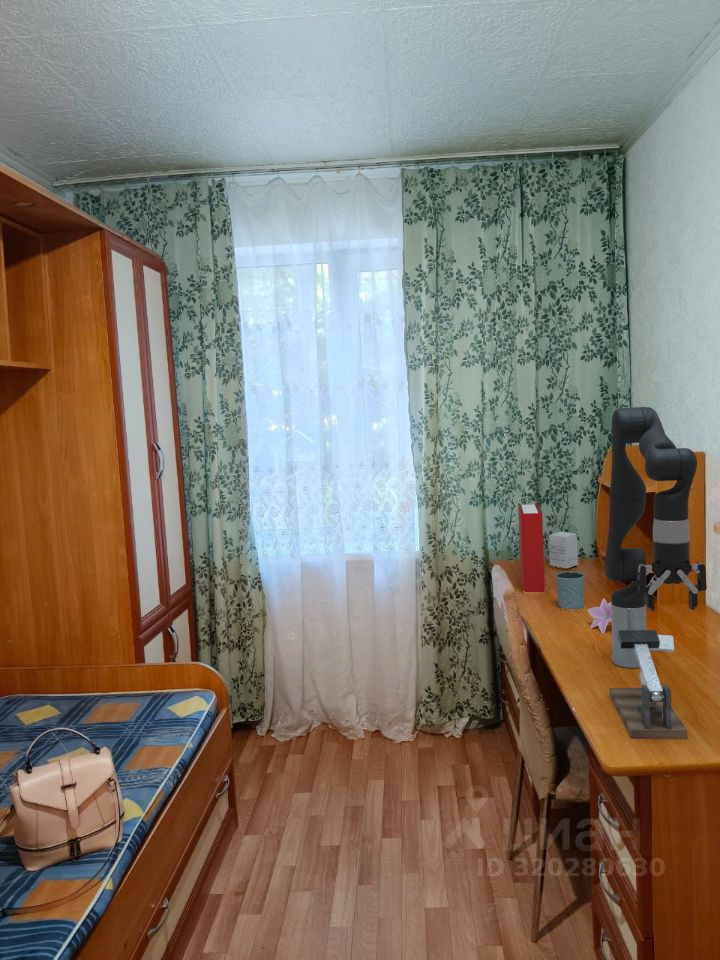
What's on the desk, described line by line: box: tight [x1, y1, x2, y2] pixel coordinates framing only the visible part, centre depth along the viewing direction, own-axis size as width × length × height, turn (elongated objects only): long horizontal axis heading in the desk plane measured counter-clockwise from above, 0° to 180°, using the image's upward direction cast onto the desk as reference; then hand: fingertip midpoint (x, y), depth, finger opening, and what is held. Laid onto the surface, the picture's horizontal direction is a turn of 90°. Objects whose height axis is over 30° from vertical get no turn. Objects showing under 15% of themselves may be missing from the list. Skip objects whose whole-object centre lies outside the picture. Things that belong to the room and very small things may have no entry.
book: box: [517, 502, 546, 592], centre depth 298 cm, size 27×8×32 cm, turn 170°
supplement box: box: [548, 531, 579, 568], centre depth 326 cm, size 9×9×15 cm
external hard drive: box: [649, 634, 675, 653], centre depth 225 cm, size 2×8×12 cm
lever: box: [617, 629, 665, 702], centre depth 175 cm, size 21×9×4 cm, turn 173°
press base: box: [609, 684, 688, 740], centre depth 177 cm, size 24×12×11 cm, turn 173°
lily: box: [587, 598, 612, 635], centre depth 242 cm, size 12×12×10 cm
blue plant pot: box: [555, 570, 586, 610], centre depth 267 cm, size 10×10×12 cm
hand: (671, 609), depth 165 cm, fingers open, 8 cm apart
